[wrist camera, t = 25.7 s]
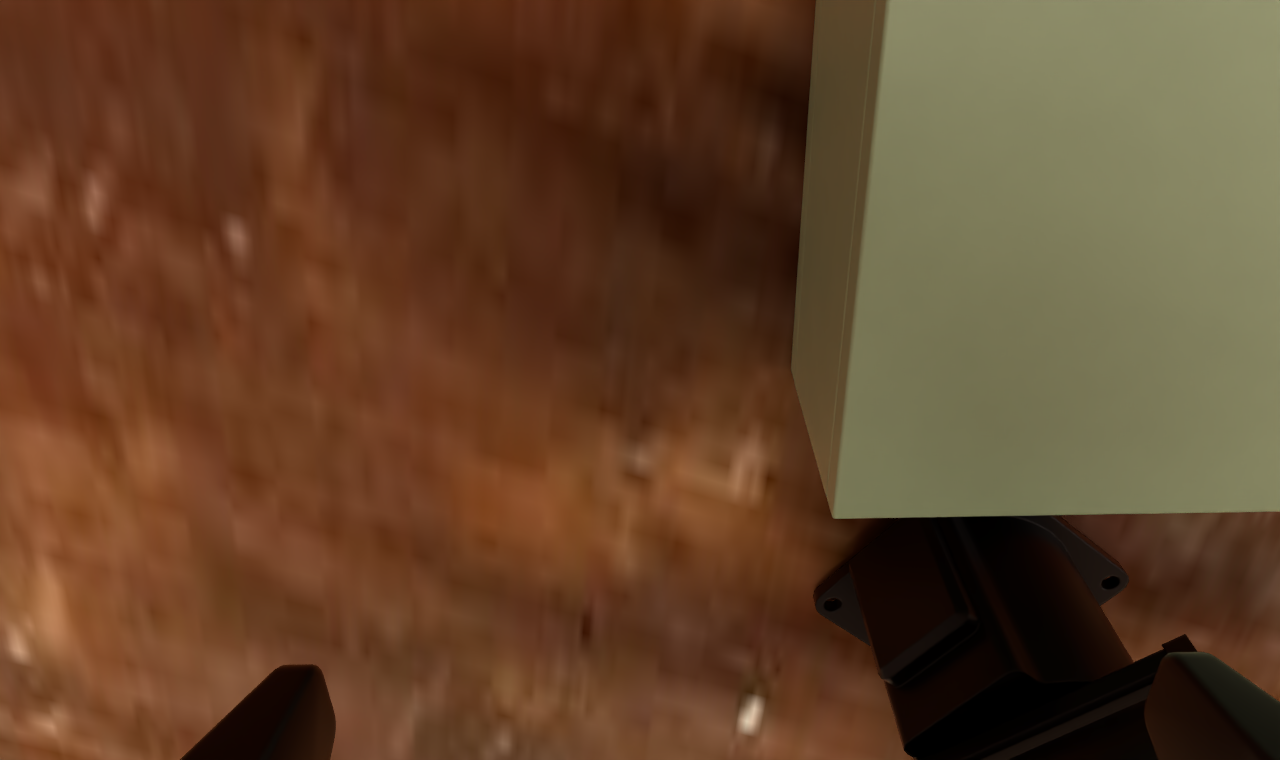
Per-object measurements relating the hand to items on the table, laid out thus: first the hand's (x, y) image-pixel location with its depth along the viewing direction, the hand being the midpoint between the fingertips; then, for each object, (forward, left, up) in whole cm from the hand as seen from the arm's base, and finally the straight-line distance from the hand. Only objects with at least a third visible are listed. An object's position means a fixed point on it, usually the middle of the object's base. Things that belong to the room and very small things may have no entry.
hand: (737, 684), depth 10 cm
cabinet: (-4, -8, -13) cm, 16 cm away
